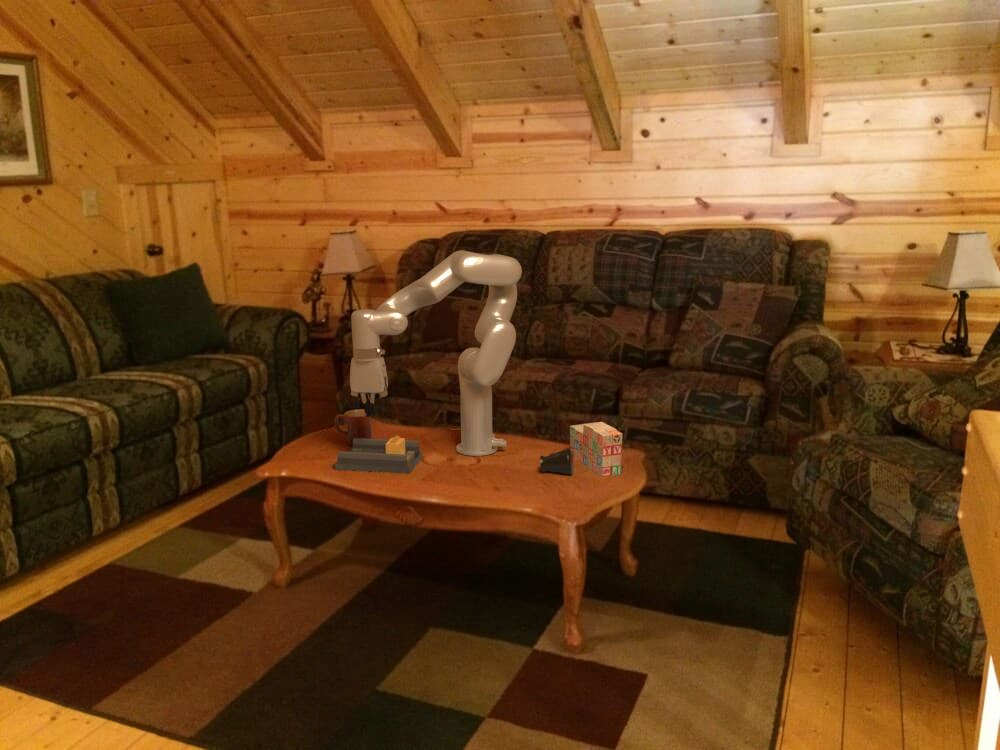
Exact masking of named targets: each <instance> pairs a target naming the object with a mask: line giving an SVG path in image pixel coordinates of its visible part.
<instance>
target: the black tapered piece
mask: <svg viewBox="0 0 1000 750" xmlns="http://www.w3.org/2000/svg"><path fill="white" fill-rule="evenodd" d="M539 460H540V463H539V464H540V468H541V473H542V474H543V473H547V472H551V473H557V474H562V475H568V476H569V475H571V476H572V475H573V474H574V472H575V471H574V469H575V468H574V467H575V466H574V464H575V463H574V457H573V455H572V451H571V449H570V447H568V448H565V449H562V450H559V451H558V452H557V451H556V450H554V451H552V452H550V453H548V455H546V456H544V455H540V457H539Z"/></svg>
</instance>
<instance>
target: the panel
mask: <svg viewBox="0 0 1000 750" xmlns="http://www.w3.org/2000/svg"><path fill="white" fill-rule="evenodd" d="M347 452H362V453H383V454H386V450H385V449H364V448H353V447H351V448H350V449H349V450H348V451H347ZM405 454H406V455H407V466H406V467H390V466H370V465H351V464H338V460H337V461H336V462H335V463H334V470H335V471H347V470H359V471H358V472H366V471H374V472H373V473H385V472H390V473H389V474H404V473H406V474H407V475H408V474H409V475H410V474H411V473H412V472H413V471H414V470H415V468H416V467H415V466H417V465H418V464H419V463H420V462H421V461H422V460H423V451H419V452H418V453H415V451H406V450H405ZM420 460H421V461H420ZM419 461H420V462H419ZM376 471H377V472H376Z"/></svg>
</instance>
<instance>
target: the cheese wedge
mask: <svg viewBox="0 0 1000 750" xmlns="http://www.w3.org/2000/svg"><path fill="white" fill-rule="evenodd" d="M388 440H389V441H388V442H387V443H386V454H403V455H406V454H405V440H406V438H405V437H404V438H403V437H401V436H400V435H395V436H394V437H391V438H390V439H388Z"/></svg>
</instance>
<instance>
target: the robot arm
mask: <svg viewBox="0 0 1000 750" xmlns="http://www.w3.org/2000/svg"><path fill="white" fill-rule="evenodd" d="M522 274H523V270H522V266H521V264H520V262H519V261H518V260H517V259H516V258H514V257H511V256H508V255H504V254H498V253H493V254H484V253H476V252H472V251H467V250H461V249H460V250H457V251H455V252H453V253H451V254H450V255H448V257H446V258H445V259H444V260H442V261H441V262H440V263H439V264H437V265H435V266H434V267H433V268H432V269H431V270H429V271H428V272H426V273H425V275H423V276H421V278H419V279H417V280H415V281H413V282H412V283H410V284H409V285H407V286H405V287H403V288H401V289H400V290H399V291H397V292H395V293H394V294H392V296H390V297H389V298H387V299H386V300H385V301H384V302H382V303H381V304H380V305H378V307H377V308H376V310H375V309H370V308H369V309H366V308H364V309H357V310H354V311H353V312H352V313H351V315H350V316H351V317H350V318H351V320H350V321H351V336H352V338H351V339H352V352H353V357H352V358H351V360H350V361H351V363H350V369H349V370H350V371H349V387H350V390H351V391H350V395H351V396H352V397H356V398H359V400H361V403H362V404H363V407H364V412H365V413H366V417H369V416H370V417H372V418H373V417H374V416H375V414H376V413H377V405H376V404H377V403H376V402H377V401H378V399H380V398H385V397H387V396H388V394H389V393H388V388H389V381H388V380H389V379H388V374H387V366H386V363H385V362H386V361H385V359H384V356H382V355H385V354H386V350H385V349H383V348H382V347H381V345H380V342H381V340H380V335H382V336H384V335H385V336H398V335H401V334H402V333H404V332H405V331H406V330H407V327H408V324H409V322H408V317H407V316H408V315H411V313H413V312H415V311H416V310H418V309H420V308H423V307H426V306H432V305H434V304H438V303H439V302H441V301H442V300H444V298H446V297H447V296H448V295H449V294H450V293H452V292H453V291H455V289H457V288H459V287H460V286H461V285H462V284H463V283H470V284H471V283H472V284H477V285H485V286H488V296H487V299H486V302H485V305H484V307H483V310H482V312H481V314H480V316H479V319H478V321H477V323H476V326H475V329H474V337H475V339H476V341H477V342H479V343H480V347H469V348H466V349H465V350H464V351H462V352H461V354H460V355H459V358H458V361H457V372H458V373H457V374H458V381H459V390H460V391H459V393H460V441H461V442H459V443H458V444H457V445H456V447H455V449H456V452H458V454H461V455H464V456H470V457H471V456H472V457H482V456H488V455H491V454H494V453H496V452H497V451H498V447H507V440H505V439H504V438H497V437H496V435H495V433H493V393H492V392H493V389H492V385H495V384H496V383H497V382H498V381H499V380H500V378H502V377H501V376H502V375H503V374H504V371H505V369H506V366H507V365H508V362H509V359H510V357H511V354H512V352H513V350H514V347H515V344H516V341H517V340H516V339H517V332H516V331H517V330H516V328H515V326H514V325H513V324H512V323H511V322H510V321H511V319H512V316H513V313H514V310H515V307H516V303H517V301H518V288H517V283H518V282H519V281H520V279H521V277H522ZM369 394H370V397H369Z"/></svg>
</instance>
